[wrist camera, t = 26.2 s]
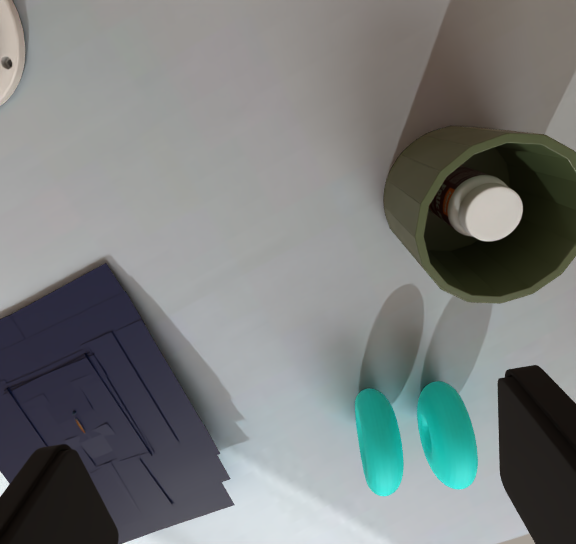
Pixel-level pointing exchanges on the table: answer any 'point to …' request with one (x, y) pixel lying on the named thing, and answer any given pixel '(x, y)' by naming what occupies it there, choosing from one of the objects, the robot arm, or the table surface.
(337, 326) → the table surface
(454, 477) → the donuts
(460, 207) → the pill bottle
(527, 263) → the pot
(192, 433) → the papers
